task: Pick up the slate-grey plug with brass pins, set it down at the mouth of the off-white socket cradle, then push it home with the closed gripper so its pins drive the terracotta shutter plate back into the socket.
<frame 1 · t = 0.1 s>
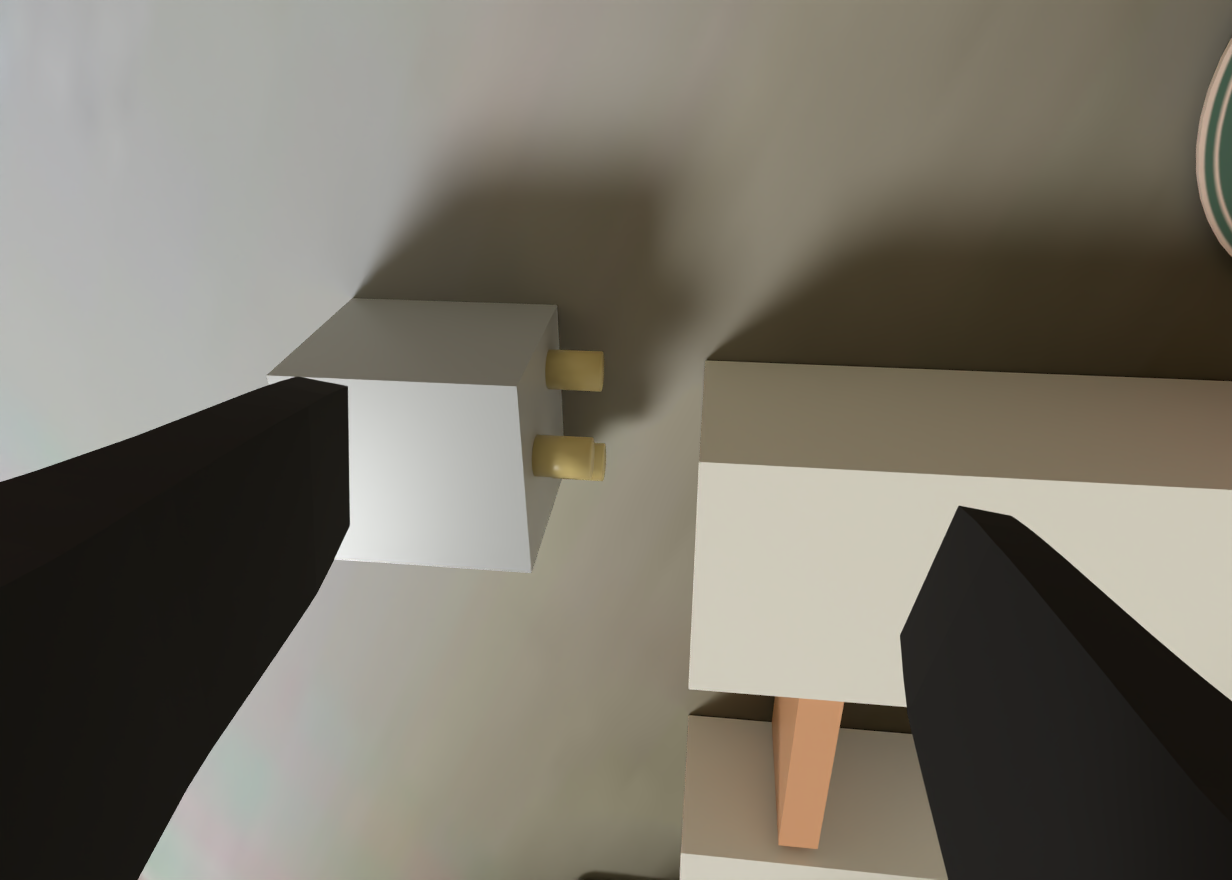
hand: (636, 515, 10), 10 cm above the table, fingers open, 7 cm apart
plug: (464, 384, 21), on the table
socket housing: (904, 659, 23), on the table
shutter: (802, 713, 22), point 2 cm above the table, slide at 0.0 cm
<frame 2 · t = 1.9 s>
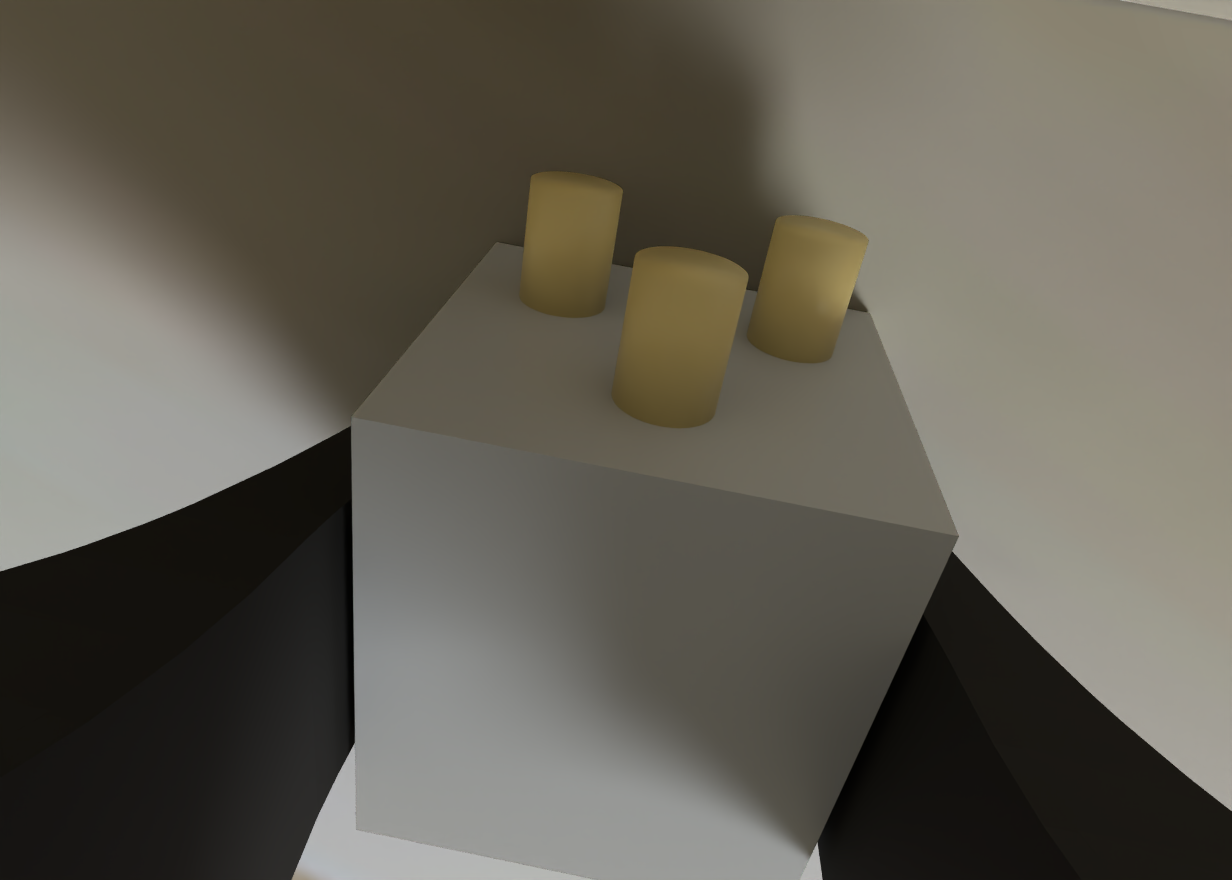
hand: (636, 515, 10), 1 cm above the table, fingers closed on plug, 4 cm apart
plug: (646, 454, 11), on the table, touching gripper
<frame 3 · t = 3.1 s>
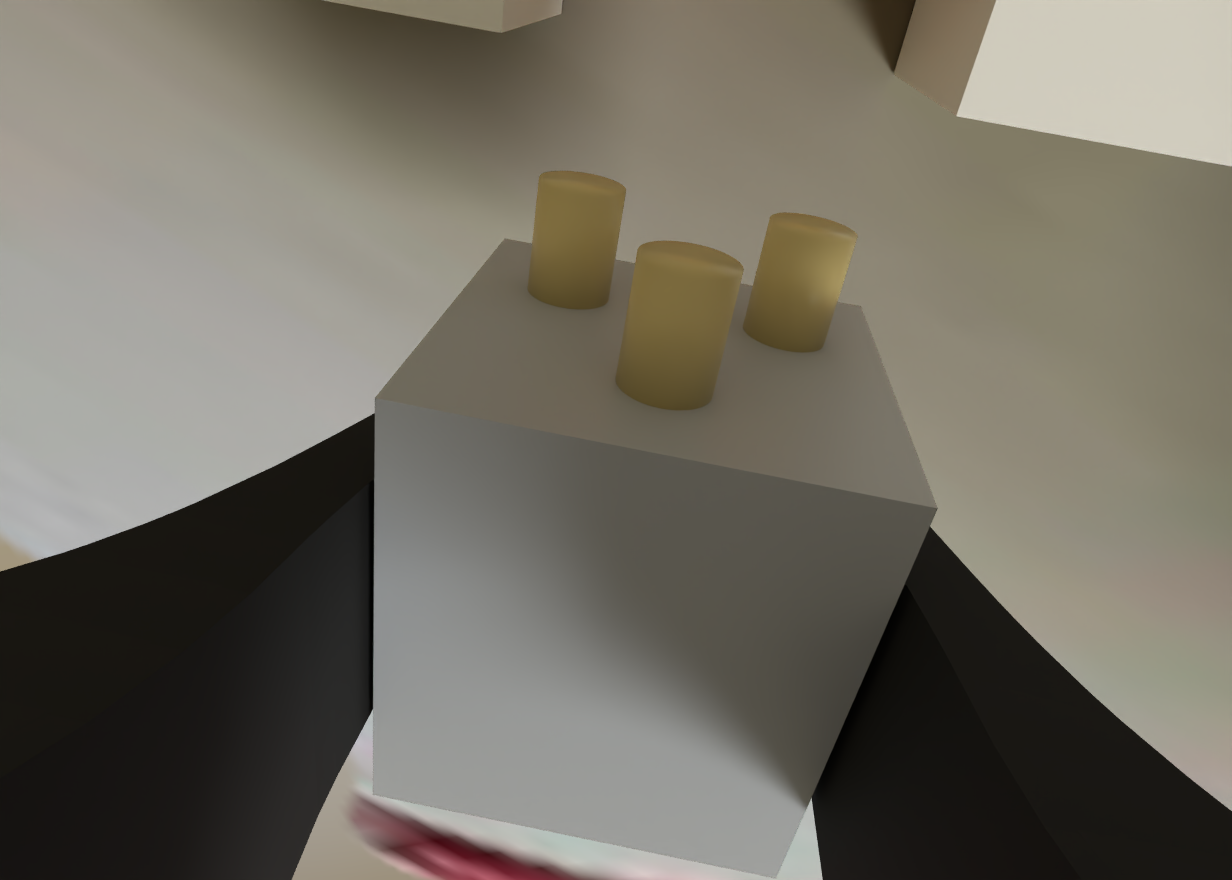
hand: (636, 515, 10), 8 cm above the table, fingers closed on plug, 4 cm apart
plug: (647, 442, 12), point 6 cm above the table, touching gripper
when the fingers open (2 cm above the table, at t = 4.7 s): plug stays where it is, on the table.
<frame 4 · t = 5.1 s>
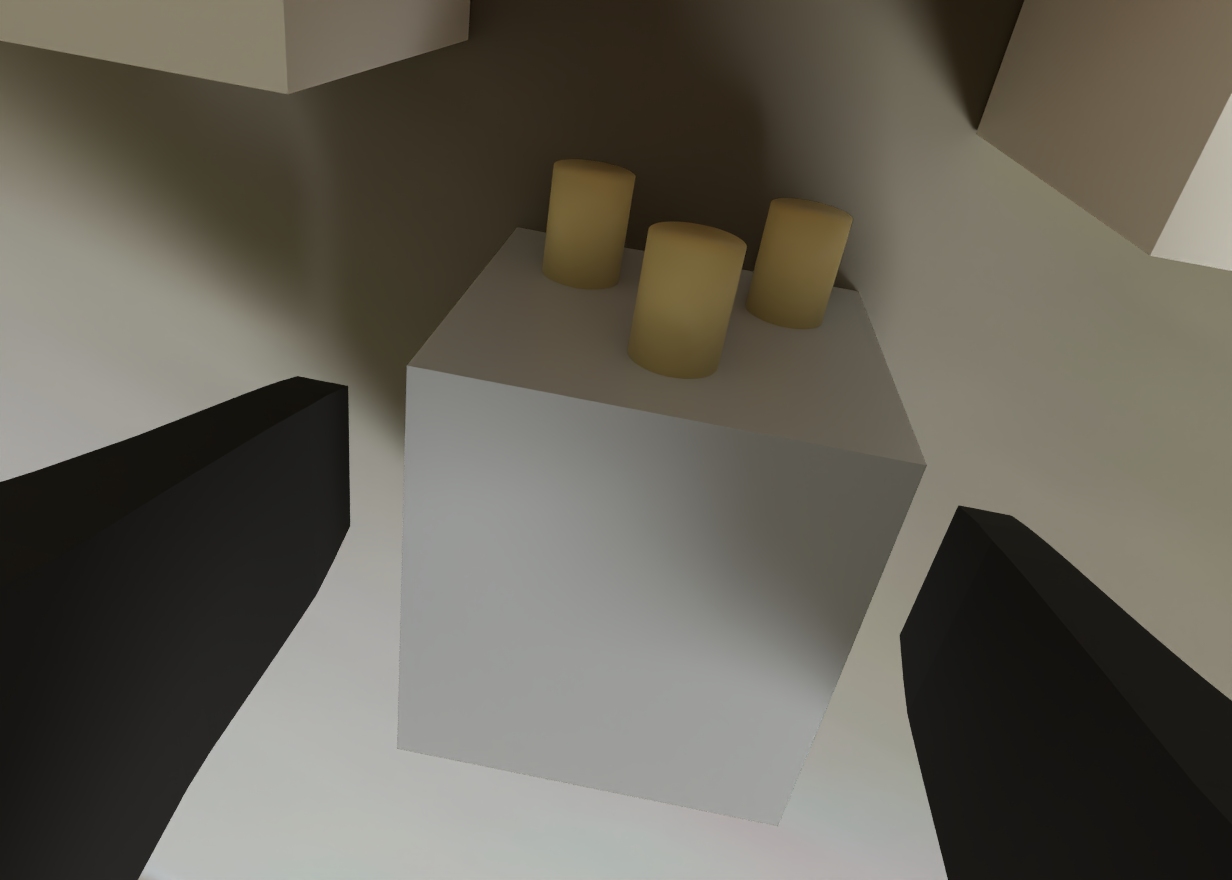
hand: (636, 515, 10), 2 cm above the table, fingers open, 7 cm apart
plug: (653, 420, 12), on the table
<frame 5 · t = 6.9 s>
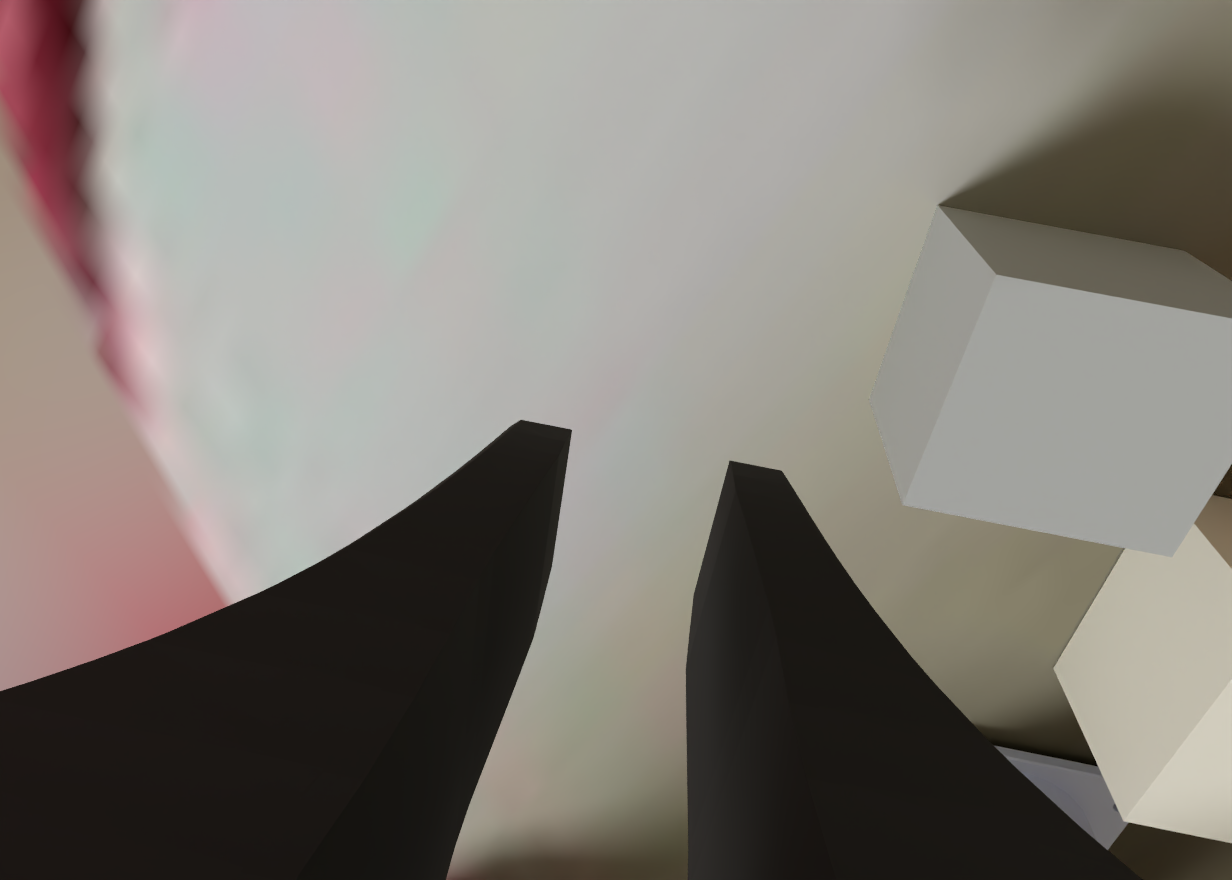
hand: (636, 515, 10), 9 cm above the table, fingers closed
plug: (1014, 328, 18), on the table
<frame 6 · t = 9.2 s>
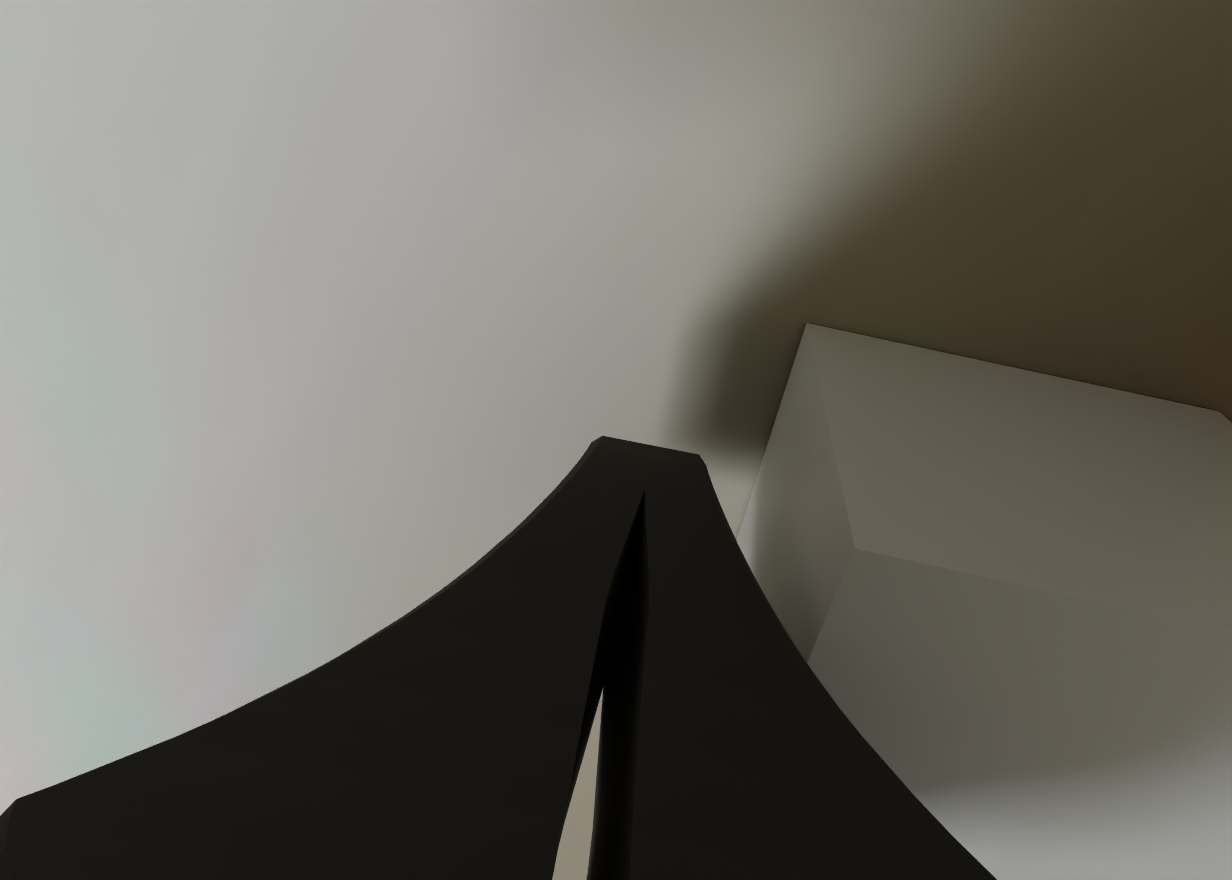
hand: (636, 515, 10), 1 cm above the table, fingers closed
plug: (941, 517, 11), on the table, touching gripper
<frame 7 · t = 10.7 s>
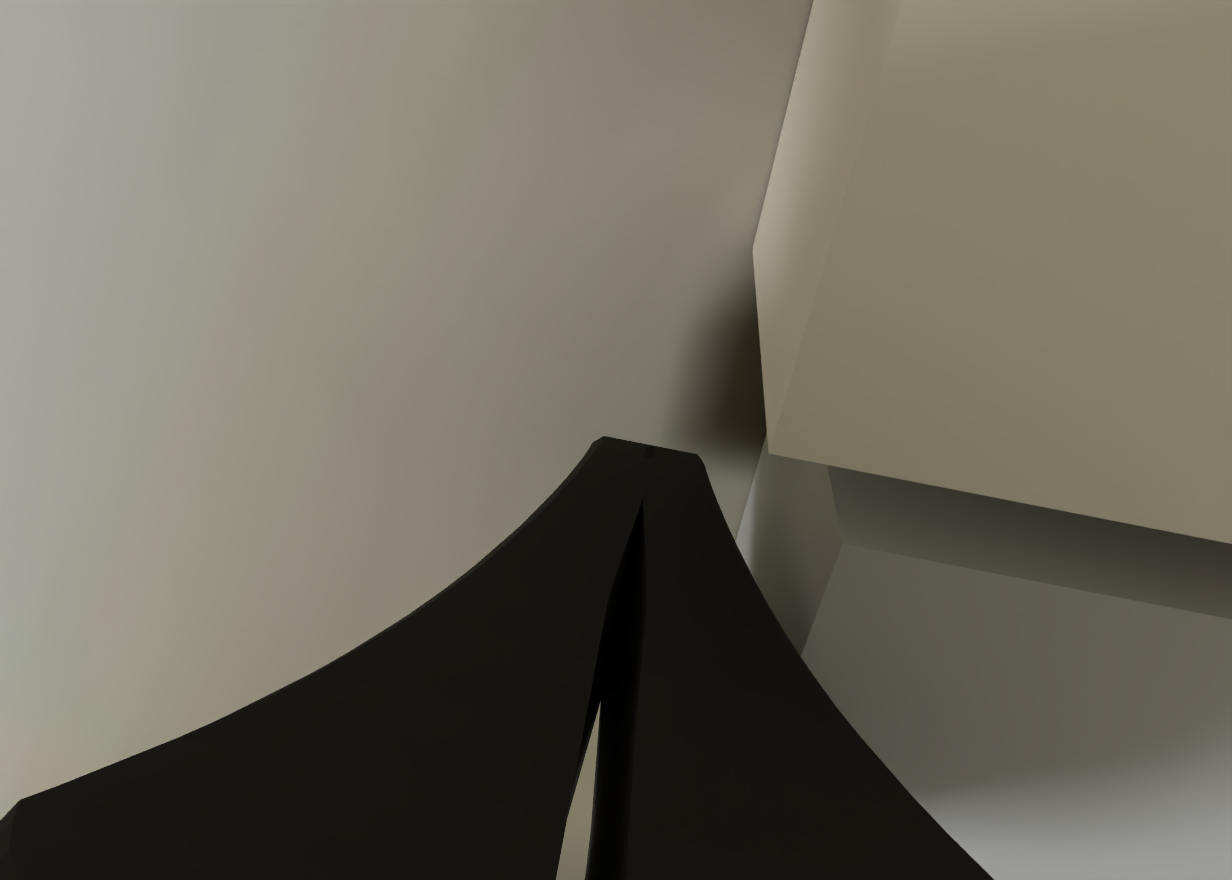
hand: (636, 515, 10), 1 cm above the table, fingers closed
plug: (940, 512, 11), resting in socket housing, touching gripper, shutter
socket housing: (1147, 553, 11), on the table
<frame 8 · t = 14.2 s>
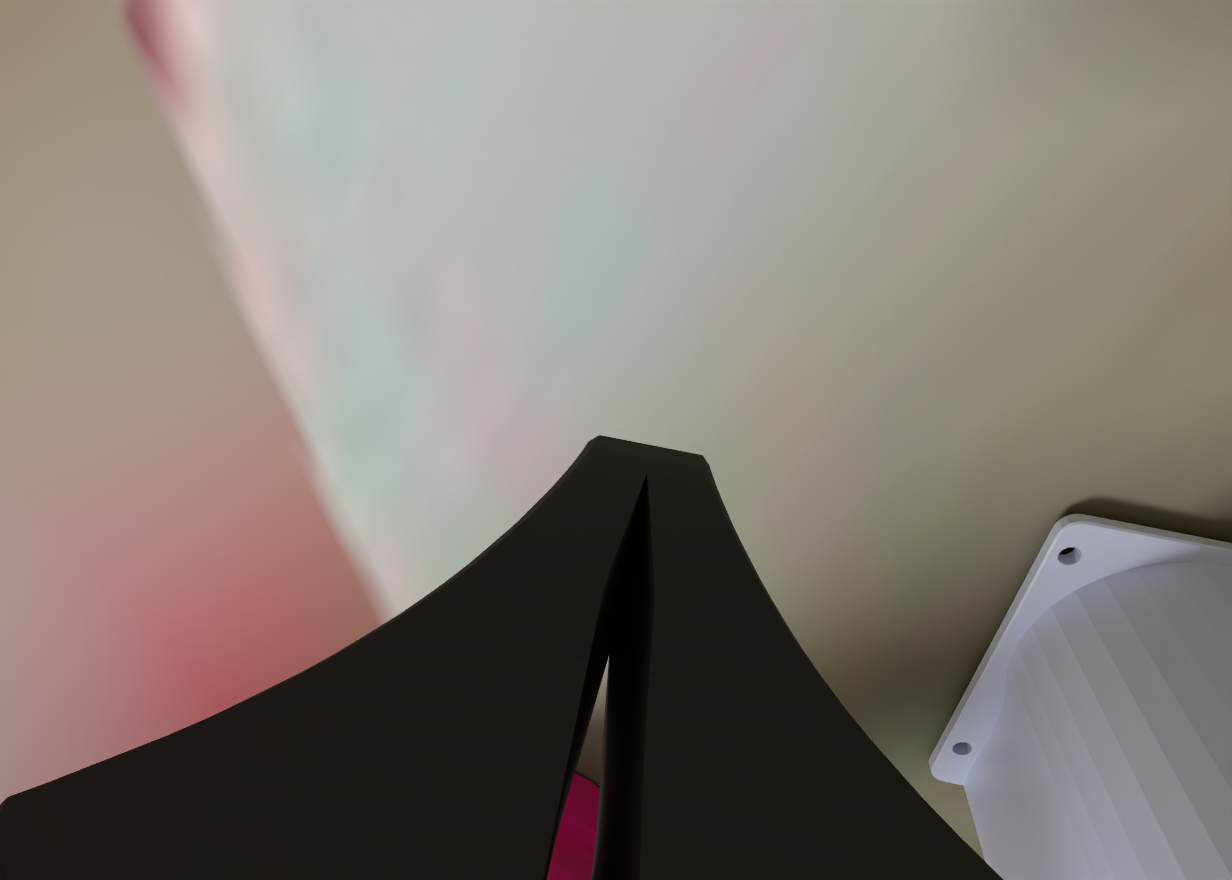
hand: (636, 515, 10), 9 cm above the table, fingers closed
pepper mill: (538, 814, 28), on the table
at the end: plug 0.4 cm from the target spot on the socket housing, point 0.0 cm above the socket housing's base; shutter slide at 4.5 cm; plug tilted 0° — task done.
